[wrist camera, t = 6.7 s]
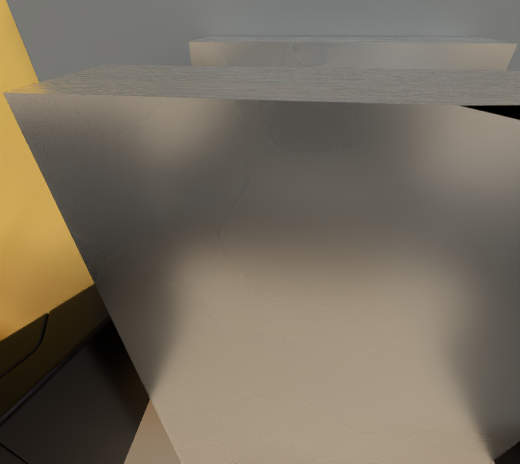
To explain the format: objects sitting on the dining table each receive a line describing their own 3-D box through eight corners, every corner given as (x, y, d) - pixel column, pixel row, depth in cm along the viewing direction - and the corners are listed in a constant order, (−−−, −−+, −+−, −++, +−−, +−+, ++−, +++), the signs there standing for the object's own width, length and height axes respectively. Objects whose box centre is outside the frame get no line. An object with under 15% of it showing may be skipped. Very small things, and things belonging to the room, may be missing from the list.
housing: (479, 37, 6) (946, 120, 2) (381, 308, 12) (426, 510, 7) (209, 35, 7) (2, 93, 2) (232, 293, 13) (182, 467, 8)
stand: (718, -134, 7) (952, -216, 4) (456, 310, 15) (482, 365, 13) (52, -97, 8) (-50, -138, 6) (161, 280, 17) (137, 323, 15)
